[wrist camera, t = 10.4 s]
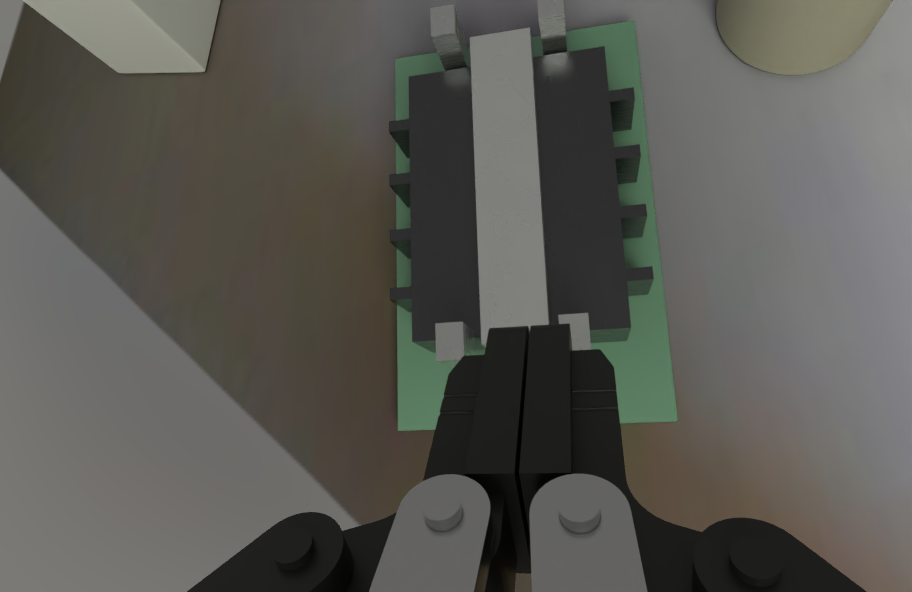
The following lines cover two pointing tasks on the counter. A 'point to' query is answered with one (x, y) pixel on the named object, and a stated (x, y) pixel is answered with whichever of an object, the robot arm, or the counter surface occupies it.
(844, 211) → the counter surface
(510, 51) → the retention strap
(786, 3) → the travel mug
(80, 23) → the milk carton
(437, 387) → the circuit board
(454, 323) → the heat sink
